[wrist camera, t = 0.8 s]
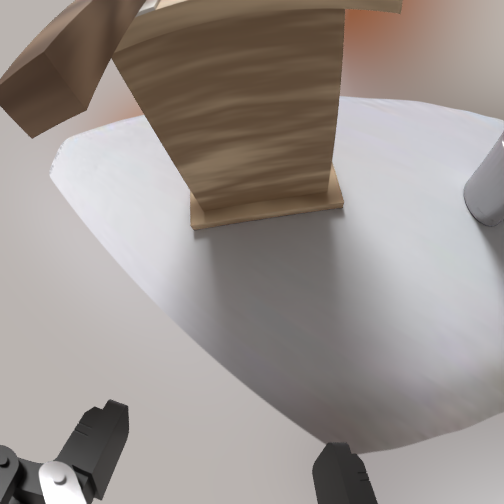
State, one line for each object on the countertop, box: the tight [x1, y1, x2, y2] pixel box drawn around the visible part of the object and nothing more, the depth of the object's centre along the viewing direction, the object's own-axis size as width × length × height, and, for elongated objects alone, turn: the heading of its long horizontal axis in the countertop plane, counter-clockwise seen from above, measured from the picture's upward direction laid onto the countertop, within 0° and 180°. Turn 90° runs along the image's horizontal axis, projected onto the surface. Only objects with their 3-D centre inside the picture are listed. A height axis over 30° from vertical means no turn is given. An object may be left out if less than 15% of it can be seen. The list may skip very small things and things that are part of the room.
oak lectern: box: [111, 0, 402, 230], centre depth 30 cm, size 20×24×32 cm
